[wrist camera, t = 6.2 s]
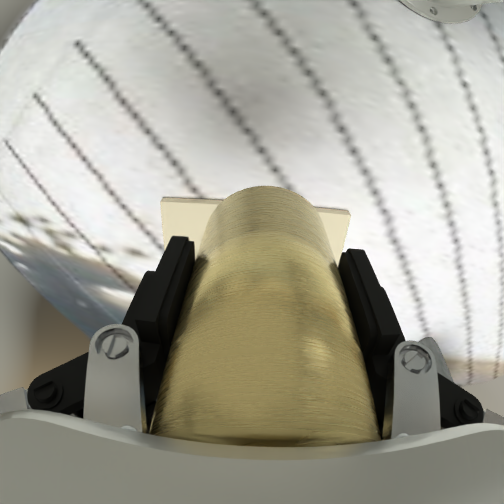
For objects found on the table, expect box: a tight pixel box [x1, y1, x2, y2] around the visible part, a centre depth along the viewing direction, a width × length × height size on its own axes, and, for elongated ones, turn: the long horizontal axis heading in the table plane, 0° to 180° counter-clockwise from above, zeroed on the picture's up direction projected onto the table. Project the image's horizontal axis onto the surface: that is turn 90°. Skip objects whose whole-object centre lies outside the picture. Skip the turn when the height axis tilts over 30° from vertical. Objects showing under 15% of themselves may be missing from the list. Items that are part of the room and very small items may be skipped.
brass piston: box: [149, 186, 381, 447], centre depth 9 cm, size 5×5×9 cm
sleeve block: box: [160, 198, 351, 267], centre depth 32 cm, size 18×18×4 cm
